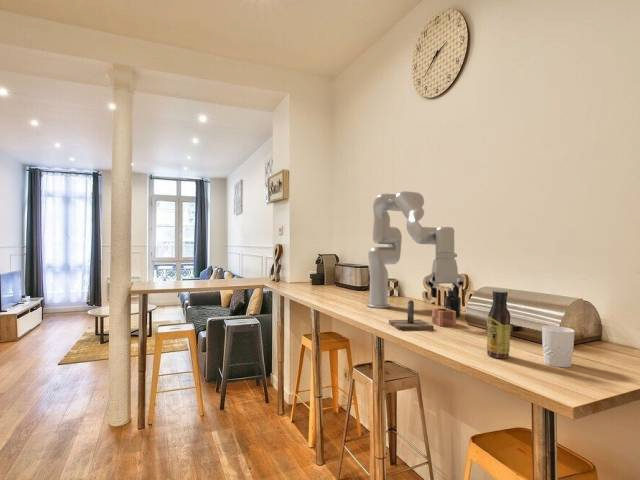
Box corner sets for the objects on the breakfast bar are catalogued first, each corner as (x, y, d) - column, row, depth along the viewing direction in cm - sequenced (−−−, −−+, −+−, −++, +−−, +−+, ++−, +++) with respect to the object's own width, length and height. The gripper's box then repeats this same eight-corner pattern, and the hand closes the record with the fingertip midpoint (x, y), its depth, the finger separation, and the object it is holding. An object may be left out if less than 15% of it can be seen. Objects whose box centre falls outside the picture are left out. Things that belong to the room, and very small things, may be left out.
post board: (388, 323, 153) (389, 298, 154) (420, 323, 156) (420, 297, 156) (399, 330, 142) (399, 302, 142) (433, 329, 144) (433, 302, 144)
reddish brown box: (432, 322, 157) (432, 308, 157) (447, 322, 158) (447, 308, 158) (439, 326, 150) (440, 311, 150) (455, 325, 151) (455, 311, 151)
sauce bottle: (483, 352, 114) (484, 289, 114) (503, 353, 114) (504, 289, 114) (492, 359, 108) (493, 291, 108) (514, 360, 108) (515, 292, 108)
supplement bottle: (444, 316, 170) (444, 290, 170) (445, 314, 176) (445, 289, 177) (460, 318, 168) (460, 291, 168) (460, 315, 174) (461, 290, 174)
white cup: (562, 369, 100) (562, 333, 100) (535, 361, 107) (535, 326, 107) (580, 366, 103) (581, 330, 103) (552, 358, 110) (553, 324, 110)
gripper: (459, 256, 159) (459, 295, 159) (421, 256, 157) (421, 296, 156) (468, 256, 152) (469, 298, 151) (429, 256, 149) (429, 298, 149)
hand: (445, 297), depth 154 cm, fingers open, 9 cm apart
